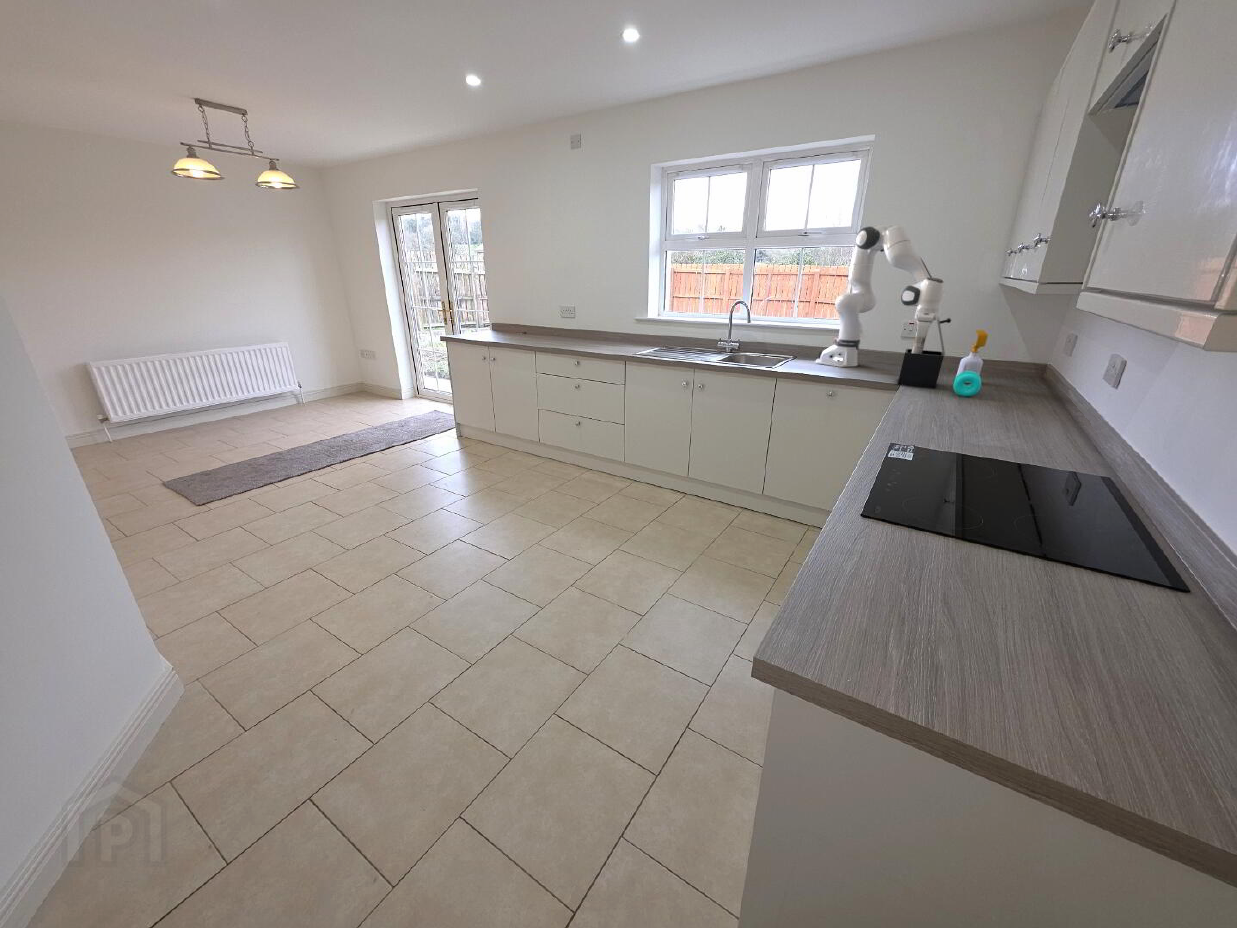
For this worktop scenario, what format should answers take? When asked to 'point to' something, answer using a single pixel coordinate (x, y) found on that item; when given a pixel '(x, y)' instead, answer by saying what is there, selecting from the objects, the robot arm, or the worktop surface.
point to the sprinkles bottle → (917, 349)
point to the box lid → (941, 331)
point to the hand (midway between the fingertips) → (918, 345)
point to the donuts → (970, 389)
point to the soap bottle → (974, 355)
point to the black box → (921, 369)
